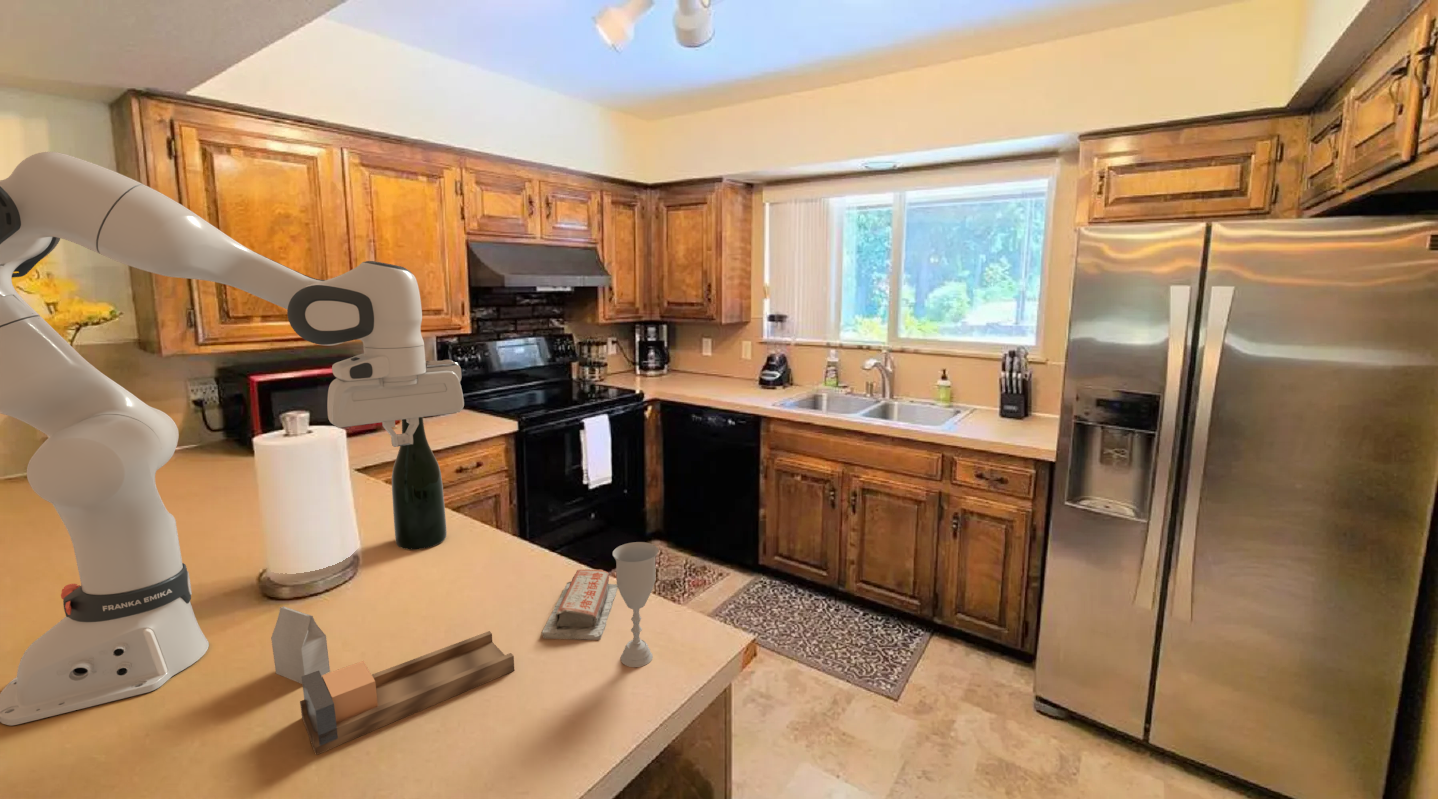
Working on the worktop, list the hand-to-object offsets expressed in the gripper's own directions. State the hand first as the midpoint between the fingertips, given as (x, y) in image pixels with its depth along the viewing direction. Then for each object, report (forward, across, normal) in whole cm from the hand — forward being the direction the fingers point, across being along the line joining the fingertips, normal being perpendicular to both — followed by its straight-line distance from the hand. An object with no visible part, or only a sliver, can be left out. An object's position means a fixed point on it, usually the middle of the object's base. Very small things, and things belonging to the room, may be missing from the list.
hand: (402, 445), depth 104 cm
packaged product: (+32, -23, +18) cm, 43 cm away
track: (+31, +7, +22) cm, 39 cm away
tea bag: (+31, +18, +6) cm, 37 cm away
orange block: (+31, +15, +22) cm, 41 cm away
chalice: (+31, -22, +36) cm, 53 cm away
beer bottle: (+31, -11, -32) cm, 46 cm away
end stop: (+30, +19, +22) cm, 42 cm away
